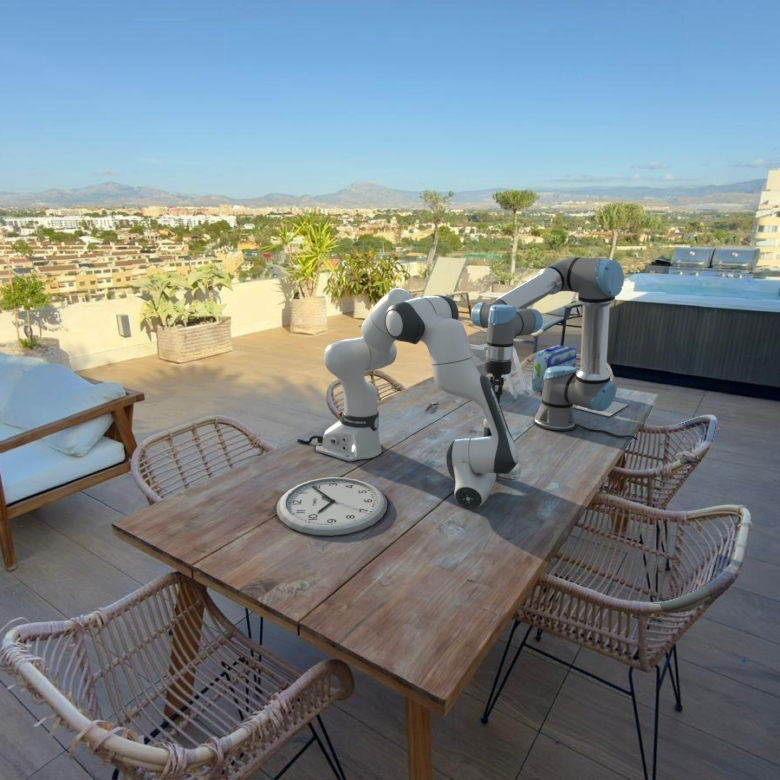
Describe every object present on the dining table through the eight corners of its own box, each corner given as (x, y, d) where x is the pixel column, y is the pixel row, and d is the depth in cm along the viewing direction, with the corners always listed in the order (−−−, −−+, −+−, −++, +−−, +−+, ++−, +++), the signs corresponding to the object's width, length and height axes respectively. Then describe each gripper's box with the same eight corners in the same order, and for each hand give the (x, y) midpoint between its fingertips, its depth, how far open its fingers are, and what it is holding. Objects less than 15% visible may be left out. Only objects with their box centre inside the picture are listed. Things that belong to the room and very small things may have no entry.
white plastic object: (461, 429, 252) (437, 405, 227) (444, 352, 274) (420, 323, 250) (535, 404, 240) (518, 377, 215) (510, 326, 262) (492, 293, 237)
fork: (422, 411, 216) (422, 407, 215) (433, 400, 230) (433, 396, 230) (428, 412, 215) (429, 407, 215) (438, 401, 230) (439, 396, 229)
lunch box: (548, 398, 236) (553, 353, 229) (527, 393, 243) (531, 349, 237) (575, 387, 253) (581, 344, 247) (555, 382, 260) (560, 341, 254)
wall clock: (392, 527, 129) (268, 531, 127) (391, 533, 130) (269, 537, 127) (383, 473, 158) (282, 475, 155) (383, 478, 158) (282, 480, 156)
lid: (507, 427, 156) (507, 421, 156) (490, 430, 154) (491, 424, 153) (495, 421, 161) (496, 415, 161) (479, 423, 159) (479, 418, 158)
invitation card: (608, 416, 214) (573, 407, 224) (608, 416, 214) (573, 408, 224) (628, 404, 229) (594, 396, 238) (628, 405, 229) (594, 397, 238)
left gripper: (519, 470, 144) (526, 451, 157) (447, 457, 152) (460, 440, 164) (517, 490, 146) (524, 470, 159) (446, 477, 154) (458, 458, 166)
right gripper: (486, 351, 161) (481, 421, 168) (484, 366, 143) (478, 444, 150) (511, 352, 159) (505, 423, 166) (512, 368, 142) (505, 446, 149)
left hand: (491, 455), depth 161 cm, fingers closed on jar, 5 cm apart
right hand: (492, 433), depth 158 cm, fingers closed on lid, 6 cm apart
